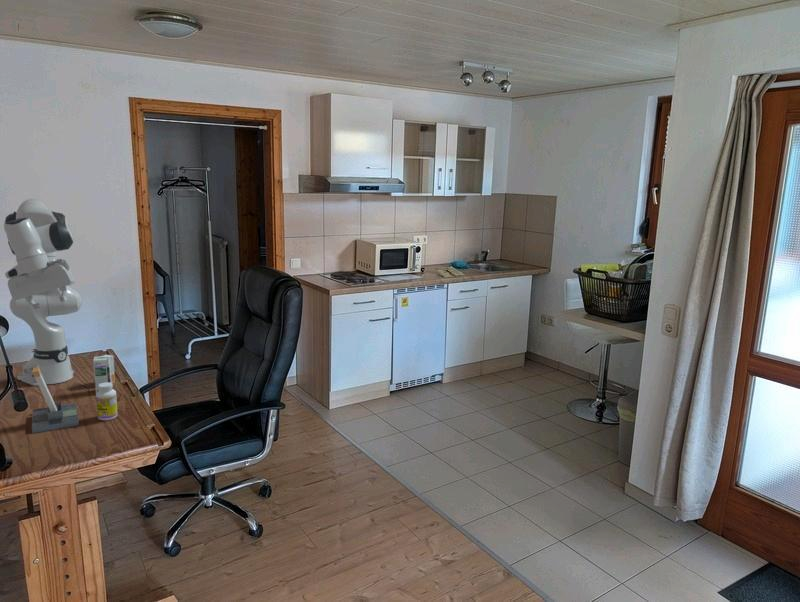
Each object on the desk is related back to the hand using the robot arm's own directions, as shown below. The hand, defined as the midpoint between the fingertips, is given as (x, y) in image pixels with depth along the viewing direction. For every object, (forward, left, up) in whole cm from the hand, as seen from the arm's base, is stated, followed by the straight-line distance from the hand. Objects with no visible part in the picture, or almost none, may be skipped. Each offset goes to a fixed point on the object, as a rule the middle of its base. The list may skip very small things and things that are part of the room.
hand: (50, 304), depth 194 cm
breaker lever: (-5, +2, -41) cm, 41 cm away
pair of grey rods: (-14, +9, -44) cm, 47 cm away
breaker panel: (-5, +2, -44) cm, 44 cm away
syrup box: (-13, +31, -44) cm, 55 cm away
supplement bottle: (+9, +11, -44) cm, 46 cm away
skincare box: (-19, +38, -44) cm, 61 cm away
